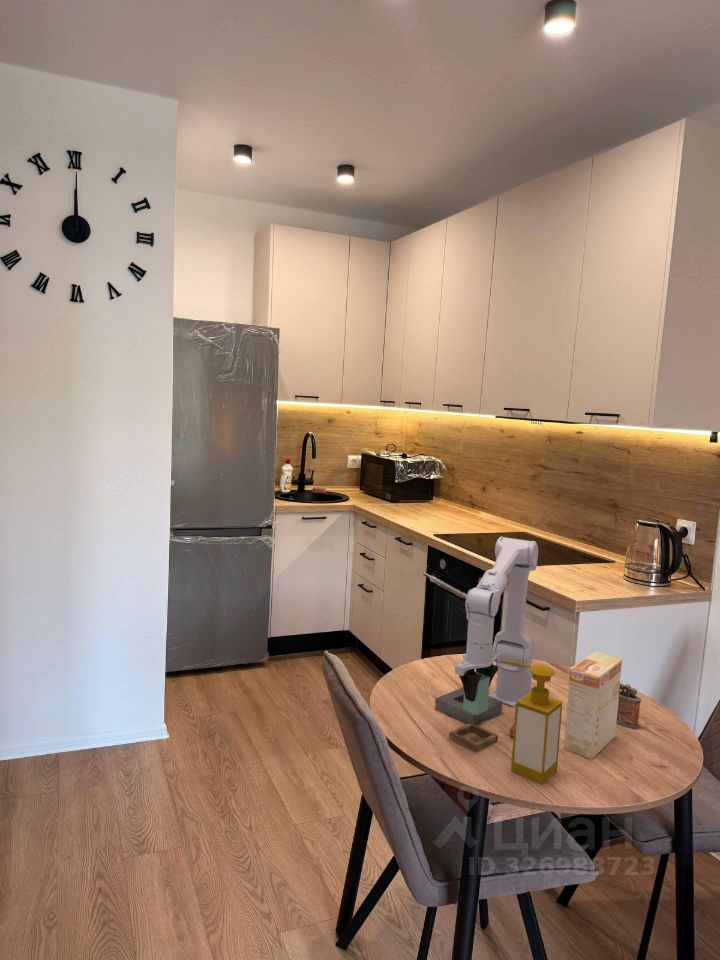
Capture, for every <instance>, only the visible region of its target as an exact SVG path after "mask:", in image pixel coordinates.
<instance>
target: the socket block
mask: <svg viewBox="0 0 720 960" xmlns="http://www.w3.org/2000/svg"><path fill="white" fill-rule="evenodd" d="M463 701H464V688H463V686H462V687H460V688H458V689H455V690H452V691H451V692H447V693H444V694H442V695H440V696H438V697H435V702H434V703H435V705H434V709H435V711H437V712H440V713H442V714H443V715H446V716H448V717H450V718H452V719H454V720H456V721H459V722H460V723H463V724H464V725H466V724H468V723H473V724H475V725H477V726H479V725H481V724H483V723H484V722H487V721H488V720H489V721H490V720H491V719H492V718H496V717H497V716H500V715H501V714H503V706H504V703H503V702H501V701H499V700H497V699H494V698H492V697H490V696H489V695H488V710H487V711H485V712H482V713H480V714H478V715H476V714H473V713H471V712H469V711H467V710H465V709H463Z"/></svg>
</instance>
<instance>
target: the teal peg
mask: <svg viewBox="0 0 720 960" xmlns="http://www.w3.org/2000/svg"><path fill="white" fill-rule="evenodd" d="M476 673H477V674H479V675H481V678H480V680H479V683H478V686H477V690H476V697H475V700H474V701H473V702H471V701H469V700H467V699H466V698H465V693H464V701H463V709H465V710H467V711H469V712H471V713H473V714H476V715H478V714H480V713H482V712H485V711H487V710H488V696H489V695H490V694H489V693H490V686H489V681H490V677H488V676H486V675H483V674H481V673H478V672H476Z"/></svg>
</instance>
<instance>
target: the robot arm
mask: <svg viewBox="0 0 720 960" xmlns="http://www.w3.org/2000/svg"><path fill="white" fill-rule="evenodd" d="M494 546H495V548H494V555H495V562H494V564H493V566H492V568H490V569H488V570H487V569H486V571H485V572H484V573H483V575H482V577H481V579H480V581H479V582H478V584H477V586H476V587H473V588H470V589H469V590H468V592H467V594H466V597H465V604H464V606H465V611H466V620H467V621H468V622H467V637H466V638H467V639H466V651H465V652H466V653H464V654H463V655H462V660H461V661H460V662H458V663H457V664H455V665H454V674H455V675H458V677H459V679H460V681H461V684H462V687H463V688H464V693H465V698H466V699H467V700H469V701H471V702H473V701H474V700H475V697H476V690H477V686H478V683H479V680H480V678H481V675H479V674H477V673H476V672H478V673H481V674H483V675H486V676H488V677H490V681H489V687H491V683H492V682H493V679H494V676H496V685H495V686H496V687H495V692H492V693H490V694H489V695H488V696H490V697H492V698H494V699H497V700H499V701H501V702H503V704H506V705H508V706H510V707H516V704H517V703H516V701H518V700H519V699H521V698H522V697H523V696H525V695H526V694H528V693H529V692H531V689H532V679H533V678H532V673H530V672H529V667H526V666H523V665H519V664H513V663H504V662H503V660H506V661H515V662H520V663H523V664H527V665H530V666H532V663H533V659H534V641H533V638H531V637H530V635H528V634H527V632H526V631H524V625H525V617H526V607H527V606H526V605H527V597H528V583H529V575H530V573H531V572H532V571H535V570H536V569H537V566H538V559H539V558H538V557H539V545H538V544H537V541H535V540H532V541H531V540H525V539H518V538H509V537H505V536H500V537H498V539H497V540H496V542H495V545H494ZM508 575H509V583H508V578H507V576H508ZM507 584H508V594H507V605H506V614H505V615H506V616H505V626H504V629H502V630H500V631H498V632H497V633H496V634H495V636H494V625H495V616H496V615H497V613H498V611H499V606H500V603H501V596H502V594H503V592H504V591H505V588H506V587H507ZM493 639H494V641H493ZM494 663H495V664H494Z"/></svg>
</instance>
